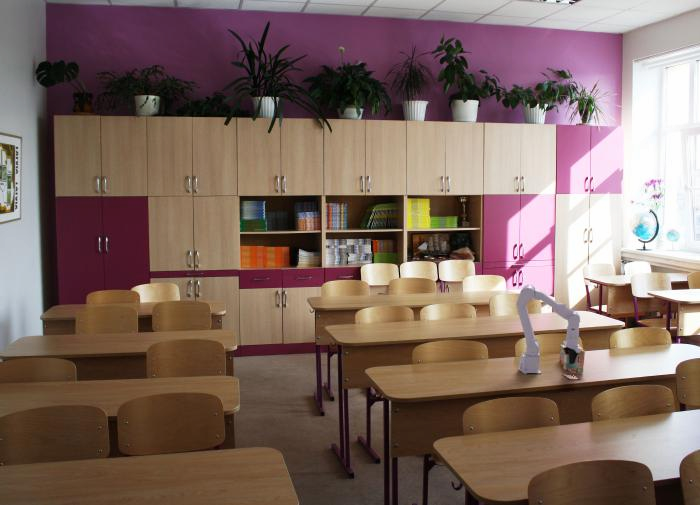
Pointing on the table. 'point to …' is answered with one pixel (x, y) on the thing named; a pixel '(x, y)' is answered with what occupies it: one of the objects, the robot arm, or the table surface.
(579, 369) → the beige printed box
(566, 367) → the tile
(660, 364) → the table surface
